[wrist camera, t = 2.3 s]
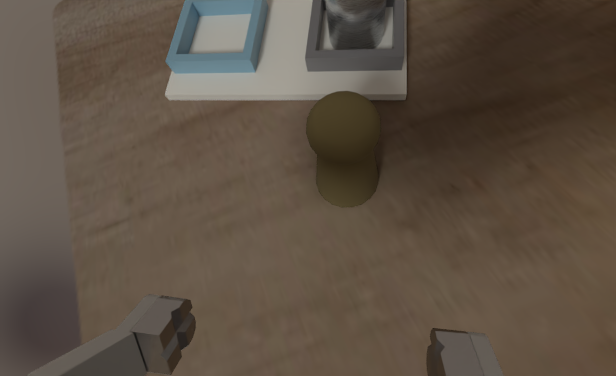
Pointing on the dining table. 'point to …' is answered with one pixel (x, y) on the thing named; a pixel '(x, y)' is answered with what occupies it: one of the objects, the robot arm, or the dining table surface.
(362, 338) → the dining table surface
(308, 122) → the cork
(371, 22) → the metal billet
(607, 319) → the dining table surface
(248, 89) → the pallet board
